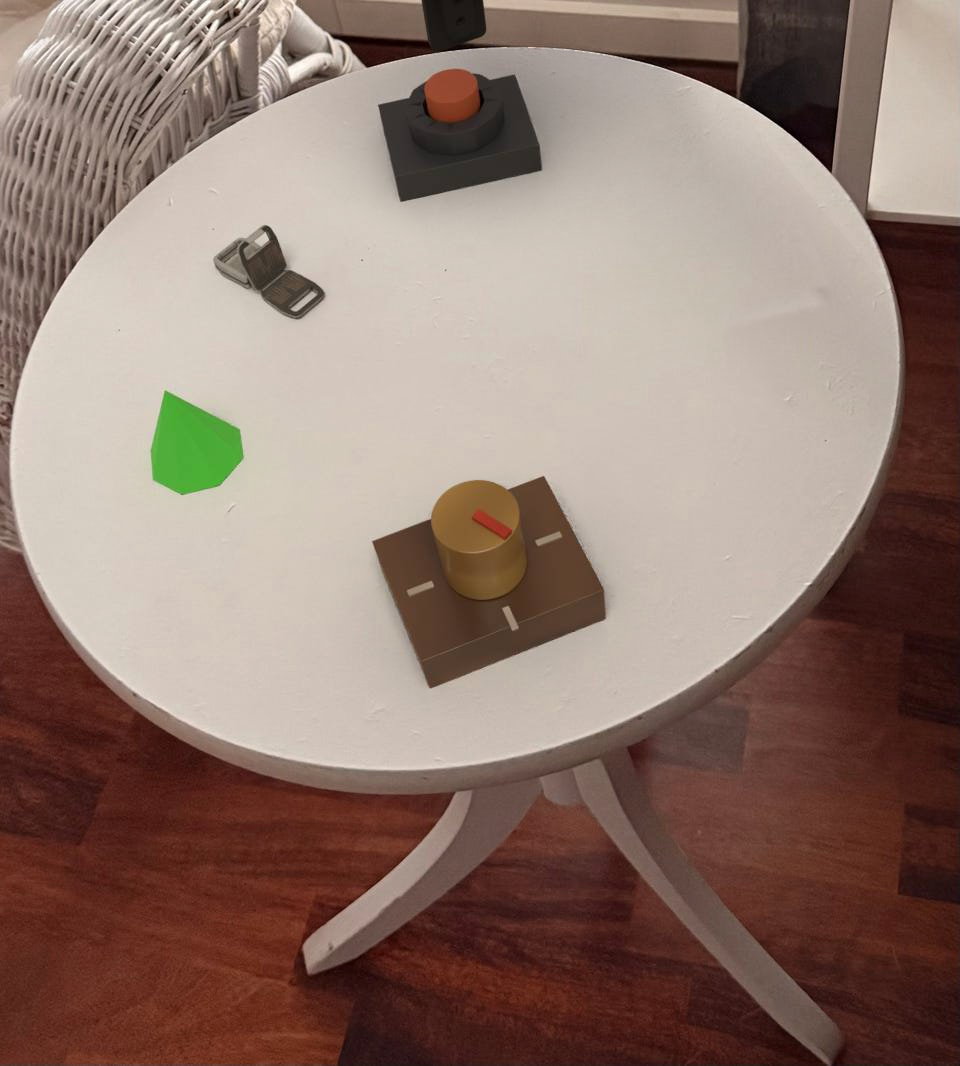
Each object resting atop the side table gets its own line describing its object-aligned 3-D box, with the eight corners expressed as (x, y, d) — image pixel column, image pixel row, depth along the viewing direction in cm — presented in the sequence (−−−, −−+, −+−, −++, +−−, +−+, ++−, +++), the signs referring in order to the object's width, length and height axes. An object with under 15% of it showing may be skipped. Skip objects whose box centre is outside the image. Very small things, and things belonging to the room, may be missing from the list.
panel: (545, 502, 70) (541, 469, 68) (608, 623, 66) (606, 592, 63) (380, 566, 69) (369, 534, 67) (431, 693, 65) (422, 665, 62)
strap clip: (211, 269, 84) (192, 221, 81) (244, 243, 85) (226, 195, 82) (296, 324, 80) (280, 276, 77) (329, 296, 81) (314, 247, 78)
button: (474, 85, 86) (471, 63, 85) (484, 117, 84) (481, 95, 83) (423, 96, 86) (420, 74, 85) (432, 129, 84) (429, 107, 83)
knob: (426, 572, 65) (411, 520, 61) (479, 515, 67) (468, 461, 63) (490, 615, 63) (480, 565, 59) (544, 556, 65) (537, 503, 61)
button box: (517, 99, 90) (512, 51, 87) (542, 170, 86) (537, 122, 83) (383, 129, 90) (373, 82, 87) (400, 201, 86) (390, 155, 82)
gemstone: (262, 459, 74) (235, 394, 69) (175, 511, 73) (140, 449, 68) (217, 399, 77) (187, 333, 73) (131, 448, 76) (95, 384, 71)
